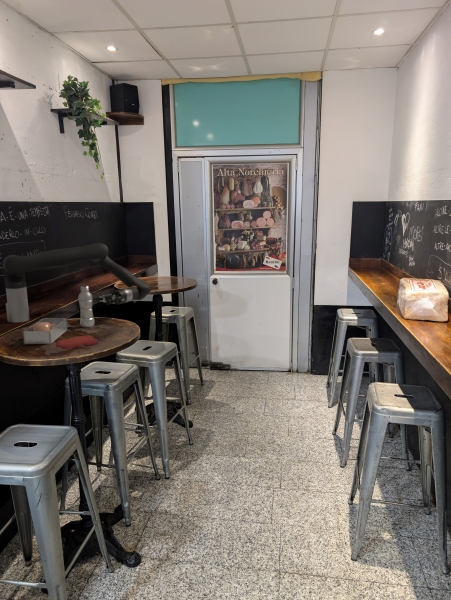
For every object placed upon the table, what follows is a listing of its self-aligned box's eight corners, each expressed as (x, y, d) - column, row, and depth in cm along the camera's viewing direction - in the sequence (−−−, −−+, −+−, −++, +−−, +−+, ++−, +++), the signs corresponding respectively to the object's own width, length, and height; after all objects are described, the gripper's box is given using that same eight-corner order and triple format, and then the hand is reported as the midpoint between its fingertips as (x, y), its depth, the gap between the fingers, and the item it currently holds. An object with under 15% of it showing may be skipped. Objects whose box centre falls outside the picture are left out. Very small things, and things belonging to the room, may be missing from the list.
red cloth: (61, 353, 168) (61, 348, 167) (49, 344, 178) (49, 340, 178) (103, 344, 179) (102, 339, 178) (89, 336, 189) (89, 332, 189)
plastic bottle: (90, 329, 200) (87, 287, 195) (77, 328, 201) (74, 287, 197) (97, 325, 206) (94, 285, 202) (84, 325, 207) (81, 284, 203)
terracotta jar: (31, 342, 178) (30, 326, 176) (37, 337, 184) (36, 322, 183) (47, 342, 178) (46, 326, 177) (53, 337, 185) (51, 322, 183)
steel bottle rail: (24, 345, 176) (22, 331, 175) (44, 330, 197) (42, 318, 196) (51, 345, 176) (49, 331, 175) (67, 330, 197) (66, 318, 196)
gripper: (111, 287, 226) (89, 292, 212) (132, 290, 219) (110, 295, 205) (112, 301, 227) (89, 307, 213) (133, 304, 221) (111, 310, 207)
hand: (100, 301), depth 209 cm, fingers open, 8 cm apart
